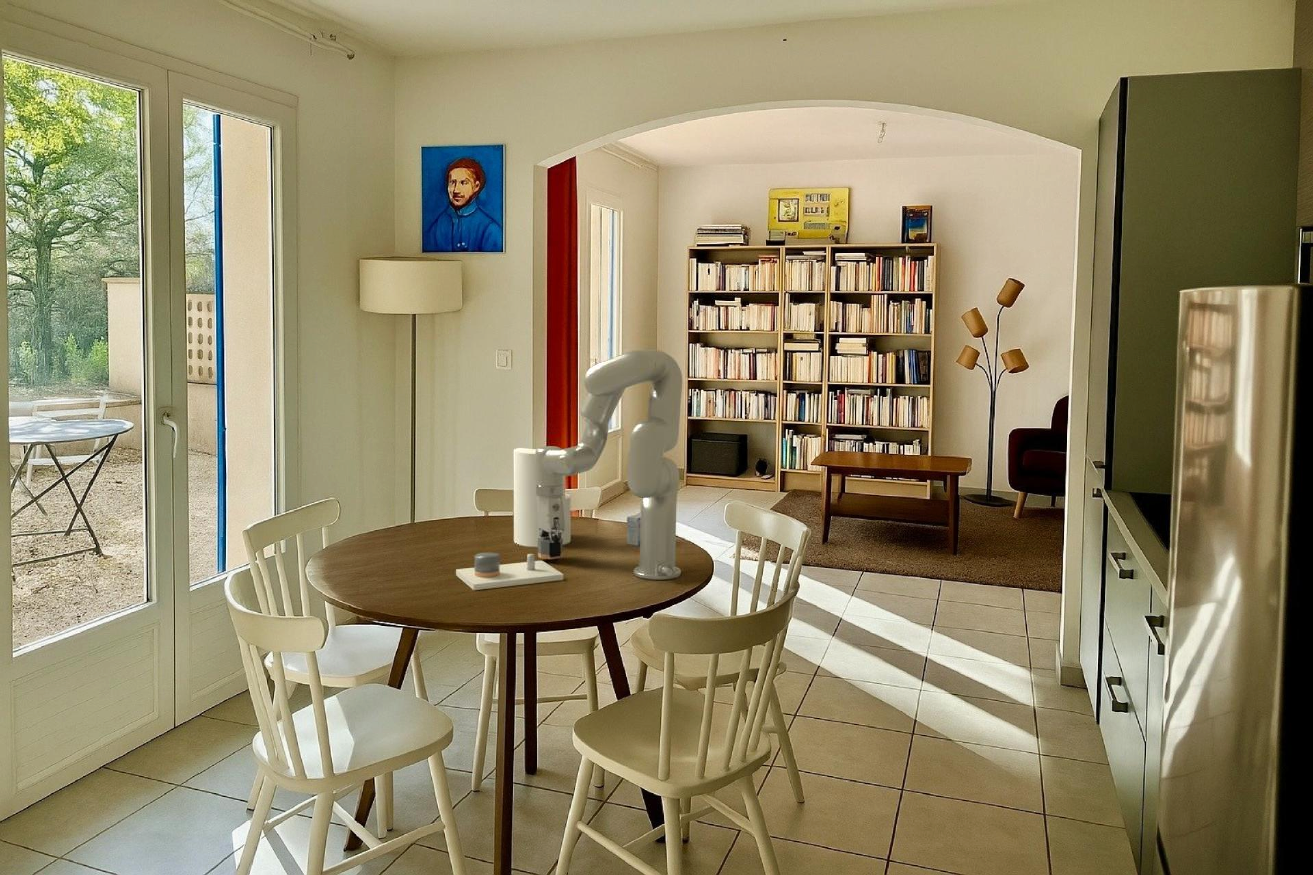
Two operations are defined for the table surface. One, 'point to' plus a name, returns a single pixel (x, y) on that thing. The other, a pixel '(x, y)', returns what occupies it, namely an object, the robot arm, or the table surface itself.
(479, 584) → the pin board
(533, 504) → the cylinder
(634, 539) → the medicine box
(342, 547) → the table surface
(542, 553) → the sleeve
